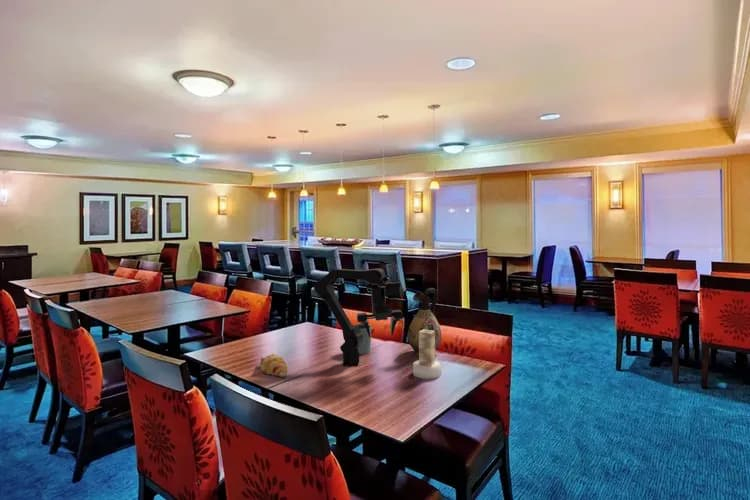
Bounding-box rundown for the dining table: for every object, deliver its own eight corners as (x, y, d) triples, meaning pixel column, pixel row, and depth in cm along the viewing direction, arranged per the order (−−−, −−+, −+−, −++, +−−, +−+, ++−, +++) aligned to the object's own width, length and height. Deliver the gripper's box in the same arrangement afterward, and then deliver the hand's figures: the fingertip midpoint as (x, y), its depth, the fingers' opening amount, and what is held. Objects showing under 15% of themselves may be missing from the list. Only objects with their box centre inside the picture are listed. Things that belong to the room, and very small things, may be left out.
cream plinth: (415, 379, 164) (415, 369, 164) (411, 369, 175) (411, 360, 175) (444, 378, 165) (444, 368, 164) (438, 368, 176) (437, 359, 175)
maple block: (419, 365, 168) (418, 332, 168) (422, 361, 173) (422, 329, 172) (431, 366, 166) (431, 333, 166) (435, 362, 171) (434, 330, 170)
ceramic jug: (418, 359, 187) (417, 291, 186) (402, 350, 202) (401, 287, 200) (451, 354, 194) (451, 288, 192) (433, 346, 208) (433, 284, 207)
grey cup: (371, 354, 196) (370, 328, 195) (349, 355, 196) (348, 329, 195) (371, 348, 206) (371, 323, 205) (350, 348, 206) (350, 323, 205)
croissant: (291, 385, 169) (300, 365, 171) (270, 379, 163) (279, 358, 165) (268, 370, 186) (276, 352, 187) (248, 364, 180) (256, 346, 181)
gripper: (357, 304, 169) (359, 343, 169) (404, 300, 171) (406, 339, 171) (355, 299, 180) (357, 336, 180) (399, 296, 182) (401, 332, 182)
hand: (380, 336), depth 178 cm, fingers open, 9 cm apart
